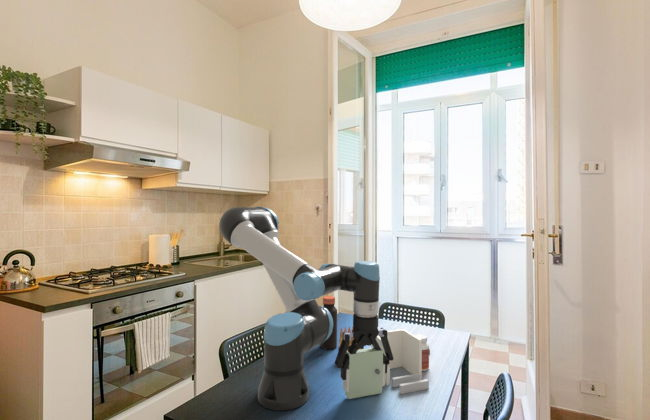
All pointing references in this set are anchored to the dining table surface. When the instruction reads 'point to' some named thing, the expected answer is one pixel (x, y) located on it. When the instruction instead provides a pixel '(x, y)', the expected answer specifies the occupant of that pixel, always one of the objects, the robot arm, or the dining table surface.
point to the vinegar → (332, 340)
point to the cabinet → (405, 360)
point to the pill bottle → (424, 352)
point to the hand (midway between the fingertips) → (363, 386)
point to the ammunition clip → (349, 341)
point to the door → (365, 373)
